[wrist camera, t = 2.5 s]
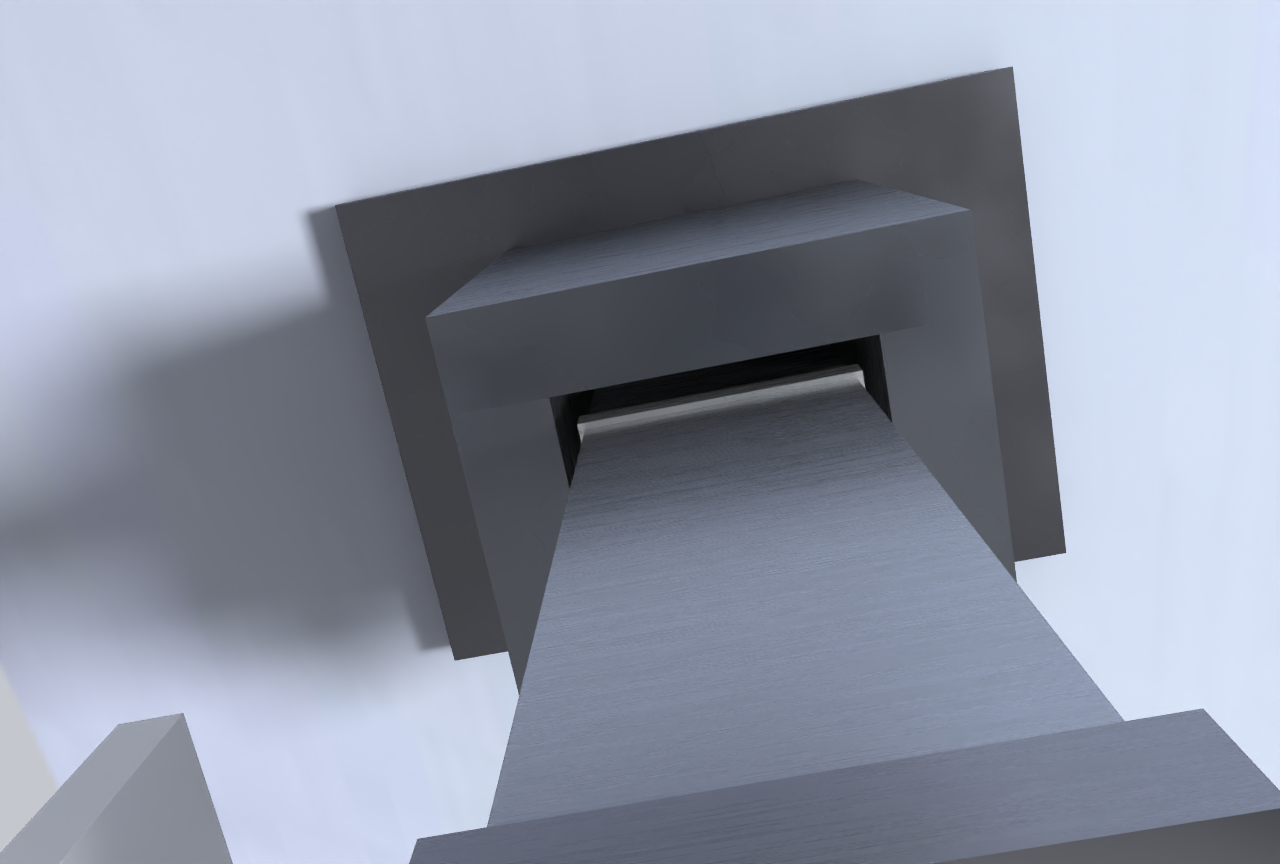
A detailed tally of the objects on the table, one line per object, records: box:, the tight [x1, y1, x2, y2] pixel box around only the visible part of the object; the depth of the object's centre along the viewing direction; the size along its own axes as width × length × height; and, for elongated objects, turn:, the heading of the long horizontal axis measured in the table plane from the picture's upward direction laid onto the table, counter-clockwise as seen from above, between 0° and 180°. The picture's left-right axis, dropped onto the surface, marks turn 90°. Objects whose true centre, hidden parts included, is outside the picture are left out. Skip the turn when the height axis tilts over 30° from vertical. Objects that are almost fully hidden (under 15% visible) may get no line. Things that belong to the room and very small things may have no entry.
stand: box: [335, 67, 1066, 695], centre depth 24 cm, size 12×16×11 cm
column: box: [409, 344, 1280, 864], centre depth 17 cm, size 5×5×22 cm
